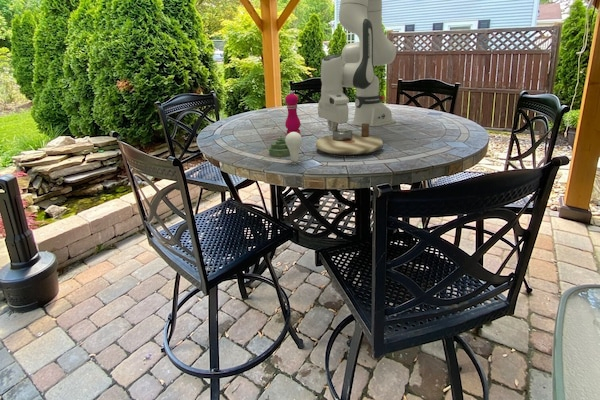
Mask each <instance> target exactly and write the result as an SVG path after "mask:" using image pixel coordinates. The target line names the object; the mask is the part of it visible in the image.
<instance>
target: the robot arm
mask: <svg viewBox="0 0 600 400" xmlns="http://www.w3.org/2000/svg"><path fill="white" fill-rule="evenodd" d="M382 1H383V0H340V4H339V13H338V20H339V23H340V25H341V26H342V28H344V30H346V31H348V32H350V33H352V34H355V35H356V36H357V37H358V40H359V41H355V42H350V43H346V44H345V45H344V47H342V51H341V55H340V54H329V55H325V56H324V57H323V58H322V60H321V65H320V81H321V87H320V88H321V89H320V98H319V100H318V102H317V103H318V104H317V115H318V117H319V118H320V119H324V120H326V123H327V126H328V131H330V132H331V133H333V131H334V130H336V125H337V123H338V124H340V125H341V124H347V123H348V121H349V105H348V104H349V103H350V99H349V97H348V96H347V95H346V94H345V93H344V89H343V88H354V89H355V93H356V94H355V96H354V97H355V101H354V104H355V105H354V106H355V109H354V117H353V119H352V120H353V121H352V125H355V126H359V127H360V126H361V127H362V124H364V123H367V124H369V127H381V126H386V125H389V124H394V123H397V120H396V119H394V118H393V116H392V115H393V114H392V111H391V109H390V108H389V107H387V106H386V105H385V104H384V103H383V102H382V100H383V101H385V100H386V96H385V95H379V92H380V88H379V87H380V79H379V77H378V76H377V75H376V74H375V69H374V68H375V67H377V66H378V67H379V66H386V65H390V64H392V63H393V62H394V60H395V59H396V56H397V48H396V45H395V44H394V43H393V42H392V41H391V40H390V39H389V38H388V37H387V36H386V34H385V31H384V28H383V17H382V15H383V2H382ZM374 66H375V67H374Z"/></svg>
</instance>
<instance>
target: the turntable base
mask: <svg viewBox="0 0 600 400" xmlns="http://www.w3.org/2000/svg"><path fill="white" fill-rule="evenodd" d="M324 153H325V154H328V155H331V156H334V155H335V157H342V156H346V157H345V158H347V157H349V158H350V157H351V158H352V157H353V156H354V157H362V156H367V155H370V154H372V153H373V152H369V153H362V154H334V153H328V152H324Z"/></svg>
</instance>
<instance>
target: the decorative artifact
mask: <svg viewBox="0 0 600 400" xmlns="http://www.w3.org/2000/svg"><path fill="white" fill-rule="evenodd" d="M268 152H269V156H272V157H274V158H275V157H276V158H285V157H289V156H290V157H291V155H290V151H289V148H288V147H287V145H286V142H285V139H284V137H282V135H280V137H279V138H277V140H276V141H275V142H272V143H271V144H270V146H269V147H268Z"/></svg>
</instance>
